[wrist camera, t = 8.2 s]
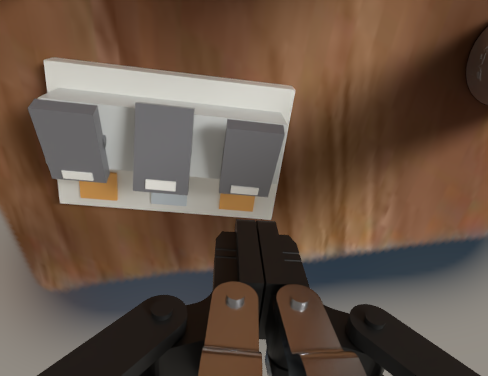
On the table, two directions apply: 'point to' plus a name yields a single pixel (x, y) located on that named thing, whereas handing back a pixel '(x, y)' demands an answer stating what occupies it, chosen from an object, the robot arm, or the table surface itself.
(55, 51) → the table surface
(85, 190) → the switch unit
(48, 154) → the block
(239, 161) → the rocker
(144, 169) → the rocker middle
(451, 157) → the table surface
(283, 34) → the table surface
